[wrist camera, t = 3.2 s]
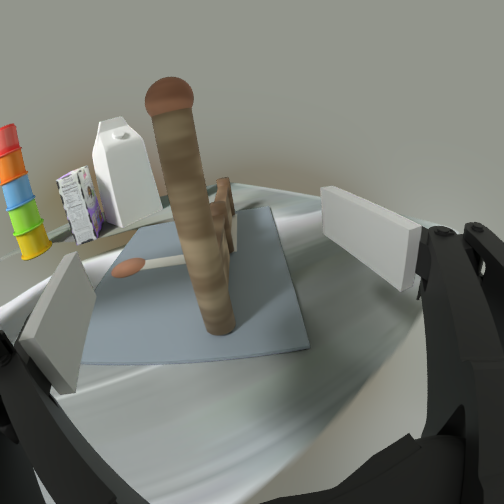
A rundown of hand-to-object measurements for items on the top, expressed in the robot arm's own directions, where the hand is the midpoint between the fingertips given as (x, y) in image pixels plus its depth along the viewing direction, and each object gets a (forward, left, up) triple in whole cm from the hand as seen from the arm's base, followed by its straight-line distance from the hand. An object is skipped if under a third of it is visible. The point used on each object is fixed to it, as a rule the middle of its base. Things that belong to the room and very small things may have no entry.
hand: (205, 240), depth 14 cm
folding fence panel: (-2, +15, -13) cm, 20 cm away
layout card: (-8, +23, -14) cm, 28 cm away
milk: (-28, +54, -14) cm, 63 cm away
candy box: (-38, +47, -14) cm, 62 cm away
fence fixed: (-2, +32, -13) cm, 35 cm away
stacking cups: (-55, +42, -14) cm, 71 cm away
